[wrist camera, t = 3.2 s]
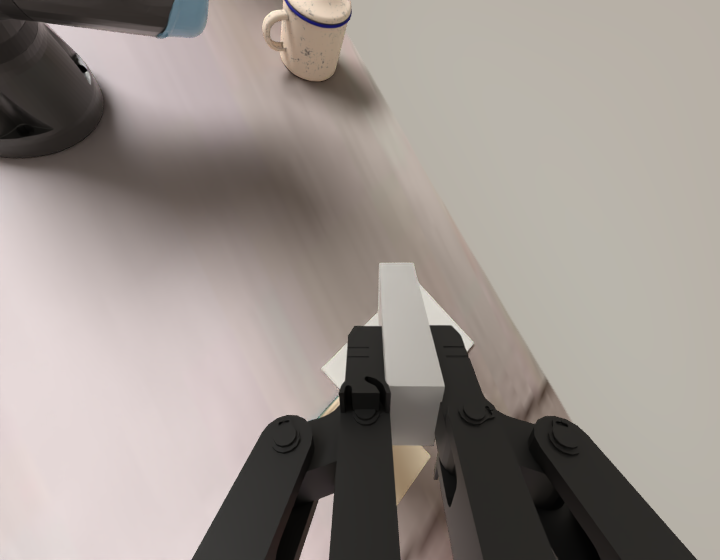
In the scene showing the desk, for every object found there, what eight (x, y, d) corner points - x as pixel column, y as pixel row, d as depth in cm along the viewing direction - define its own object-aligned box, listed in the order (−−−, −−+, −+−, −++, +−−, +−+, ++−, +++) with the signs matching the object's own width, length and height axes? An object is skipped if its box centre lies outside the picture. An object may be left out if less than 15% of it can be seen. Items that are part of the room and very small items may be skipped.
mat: (392, 447, 35) (394, 448, 35) (320, 369, 35) (321, 368, 35) (472, 343, 42) (474, 342, 42) (411, 277, 43) (413, 276, 42)
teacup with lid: (320, 34, 51) (336, -57, 40) (347, 79, 50) (371, -3, 39) (249, 42, 46) (246, -59, 35) (276, 91, 45) (282, 2, 34)
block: (336, 466, 33) (386, 521, 20) (304, 431, 33) (334, 463, 20) (368, 428, 35) (430, 456, 22) (338, 395, 35) (383, 404, 22)
